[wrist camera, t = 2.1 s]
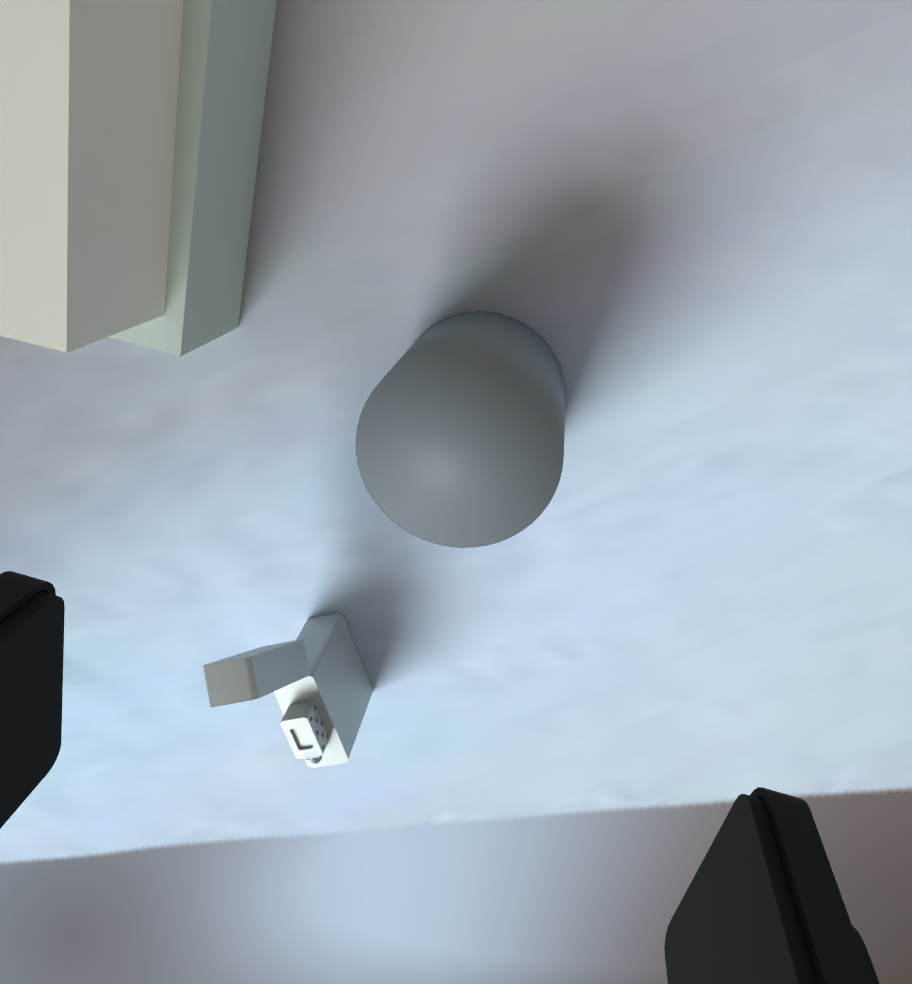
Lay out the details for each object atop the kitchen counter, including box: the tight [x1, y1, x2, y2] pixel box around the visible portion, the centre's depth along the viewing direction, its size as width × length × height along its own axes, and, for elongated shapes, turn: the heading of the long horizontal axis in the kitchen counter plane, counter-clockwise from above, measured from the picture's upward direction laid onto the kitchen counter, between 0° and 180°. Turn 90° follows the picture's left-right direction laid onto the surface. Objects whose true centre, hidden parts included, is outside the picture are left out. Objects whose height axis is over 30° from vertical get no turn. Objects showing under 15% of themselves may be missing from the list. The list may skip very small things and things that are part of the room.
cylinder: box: [356, 312, 566, 548], centre depth 25 cm, size 6×6×6 cm
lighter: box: [203, 613, 373, 768], centre depth 29 cm, size 7×2×8 cm, turn 17°
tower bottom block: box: [108, 0, 277, 356], centre depth 23 cm, size 12×12×5 cm
